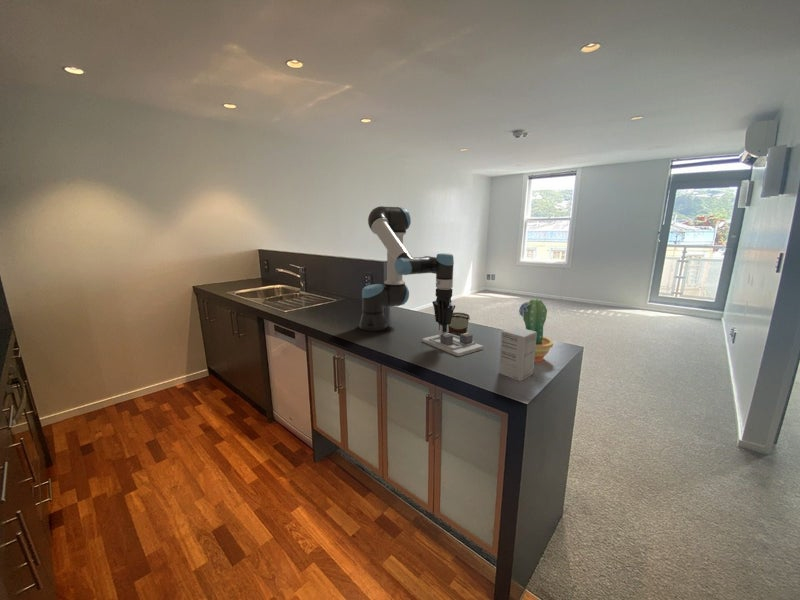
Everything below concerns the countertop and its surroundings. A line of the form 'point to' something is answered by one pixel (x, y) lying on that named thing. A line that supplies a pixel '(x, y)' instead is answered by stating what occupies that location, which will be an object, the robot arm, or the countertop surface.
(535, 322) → the potted cactus
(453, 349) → the switch board
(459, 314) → the food container
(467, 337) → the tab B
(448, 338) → the tab
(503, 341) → the supplement box
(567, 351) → the countertop surface
